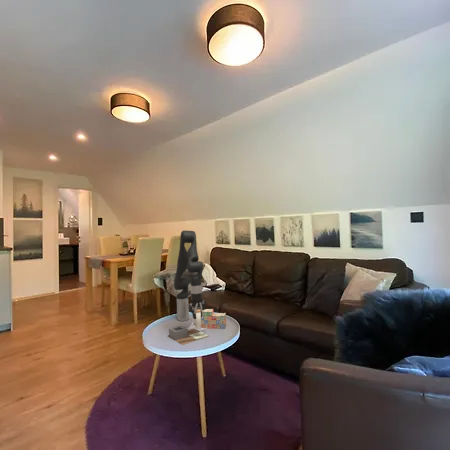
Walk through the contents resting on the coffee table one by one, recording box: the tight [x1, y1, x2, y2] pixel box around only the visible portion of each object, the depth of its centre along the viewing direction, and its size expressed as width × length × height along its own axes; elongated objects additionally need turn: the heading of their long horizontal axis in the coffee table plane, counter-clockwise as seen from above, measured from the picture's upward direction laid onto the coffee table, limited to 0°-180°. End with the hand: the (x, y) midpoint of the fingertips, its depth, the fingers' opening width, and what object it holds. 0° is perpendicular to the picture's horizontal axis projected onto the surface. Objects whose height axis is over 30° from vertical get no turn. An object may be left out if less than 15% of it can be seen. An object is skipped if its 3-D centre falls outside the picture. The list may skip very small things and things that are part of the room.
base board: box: [167, 327, 210, 346], centre depth 185 cm, size 20×20×2 cm
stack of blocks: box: [200, 308, 227, 330], centre depth 204 cm, size 21×6×12 cm, turn 80°
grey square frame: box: [168, 325, 189, 341], centre depth 185 cm, size 9×9×5 cm
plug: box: [194, 308, 202, 330], centre depth 184 cm, size 4×4×12 cm
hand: (197, 317), depth 184 cm, fingers closed on plug, 4 cm apart
